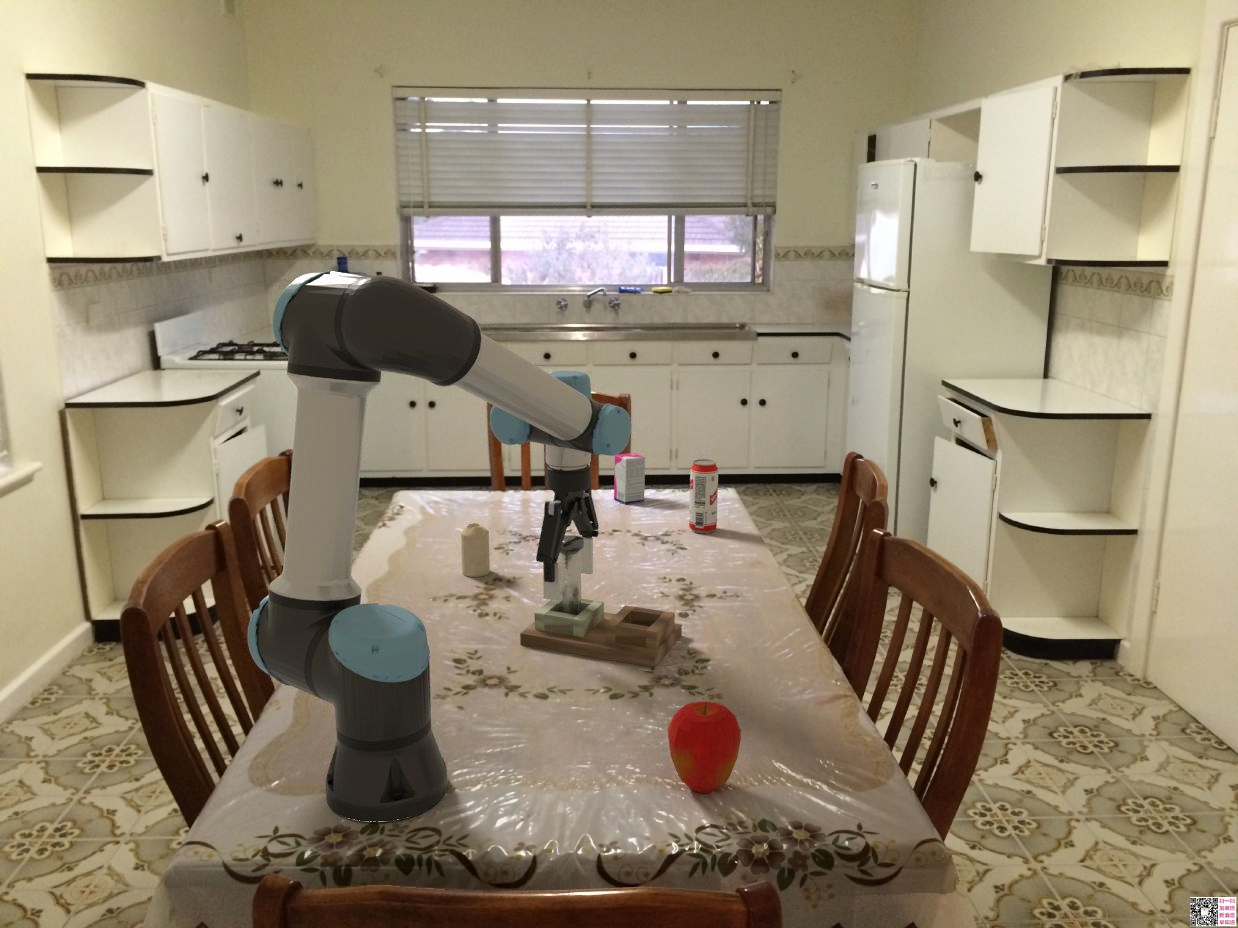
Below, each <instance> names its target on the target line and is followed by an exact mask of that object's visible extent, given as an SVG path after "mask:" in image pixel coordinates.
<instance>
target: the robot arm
mask: <svg viewBox="0 0 1238 928" xmlns="http://www.w3.org/2000/svg"><path fill="white" fill-rule="evenodd" d="M272 313H273V314H272V330H273V331H272V332H273V335H274V337H275V341H276V342H278V343H279V347H280V348H281V350H282V351H283V352H284V353H285V354H286V355H287V367H286V368H287V369H286V376H287V377H288V378H289V379H290V381H291V382H293V384H294V385H295V387H296V388H297V397H296V399H297V400H296V413H295V423H294V435H293V436H294V437H293V448H292V459H291V471H290V472H291V473H290V482H289V483H290V485H289V495H288V509H287V520H286V530H285V531H286V532H285V541H284V542H285V545H284V555H283V556H284V557H283V567H282V572H281V574H280V575H278V576H277V577H276V578H275V579H274V580H272V581H271V582H270V584H269V588H268V589H269V591H268V595H267V596H265V597H264V598H263V599H261V601H260V602H259V607H258V608H257V609H254V610H253V613H252V614H251V617H250V620H249V622H248V627H247V645H248V649H249V653H250V655H251V658H252V659H253V661H254V663H255V665H256V666H257V667H258V668H259V669H260V670H261V671H263V672H264V673H265V674H267V675H268V676H270V677H271V678H273V679H275V681H277V682H279V683H281V684H283V685H285V686H291V687H293V688H295V689H297V690H299V691H301V692H304V693H307V694H309V695H311V696H313V697H316V698H318V699H320V700H323V701H325V702H328V703H329V704H331V705H333V707H334V714H335V715H334V716H335V726H336V727H335V728H336V729H335V730H336V742H335V745H334V748H333V753H332V755H331V760H330V762H329V767H328V770H327V773H326V778H325V797H326V799H325V800H326V803H327V805H328V807H329V808H330V810H332V811H333V812H334V813H335V814H336V813H337V815H338V814H339V815H338V816H340V815H341V816H340V817H342V816H343V817H342V818H344V817H346V818H345V819H347V818H350V819H355V820H358V821H359V820H360V821H369V822H370V821H372V822H373V821H376V822H378V821H393V820H397V819H403V818H406V819H408V818H407V817H410V818H412V817H415V816H418V815H421V814H423V813H424V812H426V811H428V810H429V809H432V808H433V807H434V806H436V805H437V804H438V803H439V802H440V801H441V800H442V799H443V798H444V796H445V795H446V792H447V790H448V785H449V783H448V781H449V780H448V768H447V764H446V762H445V760H444V758H443V756H442V753H441V750H440V747H439V745H438V742H437V740H436V737H435V735H434V733H433V729H432V716H431V715H432V709H431V708H432V705H431V703H432V701H431V673H430V672H431V668H430V667H431V666H430V659H431V656H430V654H431V652H430V646H429V643H428V637H427V629H426V626H425V624H424V623H423V621H422V620H421V619H420V617H418V615H416V614H415V613H414V612H412V611H410V610H408V609H406V608H405V607H402V606H399V605H394V604H389V603H385V604H383V605H380V604H379V603H378V602H377V603H376V602H373V603H372V602H371V603H370V602H369V603H361V600H362V587H361V586H360V584H358V583H357V581H356V580H355V579H354V578H353V577H352V568H353V557H354V545H355V536H356V524H357V512H358V500H359V490H360V480H361V479H360V478H361V477H360V476H361V466H362V455H363V443H364V435H365V424H366V423H365V422H366V411H367V410H366V409H367V399H368V396H369V395H370V393H371V392H372V391H373V390H375V389H377V387H379V386H380V384H381V378H382V372H386V373H393V374H399V375H404V376H411V377H415V378H419V379H423V380H426V381H427V382H430V383H432V384H434V385H435V386H438V387H443V388H445V387H452V386H455V387H457V388H459V389H461V390H463V391H465V392H467V393H469V394H470V395H473V396H474V397H477V399H481V400H483V401H484V402H486V403H489V404H490V405H492V407H491V409H490V413H489V421H490V422H489V426H490V429H491V432H492V434H493V435H494V437H495V438H496V439H497V440H498V441H499V443H502V444H504V445H505V446H506V445H507V446H513V445H520V446H521V445H523V444H525V443H537V444H541V445H545V463H546V464H547V465H546V467H545V486H546V487H547V489H549V490H550V491H552V492H553V493H554V495H553V501H547V500H546V501H545V502H544V506H543V507H544V510H543V511H544V513H543V520H542V524H541V525H542V526H541V530H540V536H539V542H538V546H537V551H536V556H535V561H536V562H538V563H542V564H543V565H542V567H543V569H542V571H543V576H542V577H543V584H542V585H543V599H546V600H558V601H559V600H560V562H559V561H557V560H558V557H559V553H560V550H561V547H562V543H563V540H564V536H565V535H566V534H567V528H569V527H570V526H571V525H572V521H573V524H574V526H575V527H576V530H577V532H578V534H579V535H580V536H579V535H578V536H579V537H582V538H583V539H584V548H583V549H581V574H585V575H586V574H587V575H593V573H594V538H598V537H599V534H600V532H599V528H600V527H599V525H600V524H599V521H598V518H597V514H596V513H597V512H596V509H595V504H594V501H593V500H594V499H593V495H592V467H591V466H590V465H589V464H590V463H591V461H592V459H591V457H592V454H594V455H596V456H601V455H602V456H609V457H610V456H611V457H615V455H619V454H621V453H622V452H623V451H624V450H625V449H626V448H627V446H628V443H629V441H630V437H631V435H632V421H631V417H630V414H629V413H628V411H627V410H626V409H625V408H623V407H621V406H618V405H614V404H612V403H609V402H607V403H602V402H598V401H596V400H595V399H593V396H592V387H591V378H590V376H589V375H588V374H587V373H586V372H583V371H576V370H556V371H551V372H547V371H545V370H544V369H542V368H540V367H539V366H537V365H535V364H534V363H532V362H530V361H529V360H527V359H525V358H523V357H522V356H521V355H518V354H517V353H515V352H514V351H512V350H510V349H509V348H507V347H505V346H504V345H502V344H501V343H499V342H497V341H495V340H493V339H492V338H490V337H489V336H487V335H486V334H483V332H482V328H481V325H480V324H479V323H478V322H477V320H476V319H474V318H472V317H471V316H470V315H468V314H466V313H465V312H463V311H462V310H459V309H458V308H456V307H455V306H453V305H452V304H450V303H448V302H447V301H445V300H444V299H441V298H440V297H439V296H436V295H435V294H433V293H431V292H429V291H427V290H426V289H424V288H423V287H420V286H419V285H416V284H413V283H411V282H408V281H407V280H404V279H403V278H402V279H401V278H398V277H396V276H389V275H372V274H371V275H370V274H369V275H368V274H361V273H360V274H359V273H351V272H340V271H336V270H335V271H329V270H327V271H324V272H322V271H321V272H311V273H306V274H303V275H301V276H299V277H296V278H295V279H294V280H293V281H292V282H291V283H290V284H288V285H287V286H285V288H284V289H283V291H282V292H281V293H280V295H279V297H278V299H277V301H276V303H275V306H274V309H273V312H272ZM411 816H412V817H411ZM350 819H349V820H350ZM403 820H404V819H403ZM358 821H357V822H358ZM393 822H394V821H393Z"/></svg>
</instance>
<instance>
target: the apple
mask: <svg viewBox="0 0 1238 928" xmlns="http://www.w3.org/2000/svg"><path fill="white" fill-rule="evenodd" d="M667 736H668V744H669V745H668V747H669V751H670V752H669V753H670V758H671V760H672V761H671V762H672V763H673V766H674V768H675V772H676V774H677V776H678V778H679V779H680V780H681V782H683V783H684V784H685V785H686V786H687V787H688V788H689V789H690V790H693V791H694V792H697V793H701V794H702V793H703V794H708V793H712V792H714V791H716V790H718V789H719V788H720V787H722V786H723V785H725V783H727V782H728V780H729V779H730V777H731V775H732V772H733V769H734V767H735V766H736V765H735V764H736V762H737V759H738V757H739V751H740V747H741V746H740V745H741V740H742V733H741V728H740V726H739V722H738V719H737V717H736V715H735V714H734V713H733V712H732V711H731V710H730V709H729V708H728V707H726V706H725V705H724V704H720V703H718V702H713V701H707V700H705V701H693V702H690V703H687V704H684V705H683V706H682V707H681V708H679V710H677V711H676V713H675V714H674V715H673V717H672V719H671V721H670V723H669V726H668V728H667Z"/></svg>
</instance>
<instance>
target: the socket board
mask: <svg viewBox="0 0 1238 928" xmlns="http://www.w3.org/2000/svg"><path fill="white" fill-rule="evenodd" d="M675 614H676V613H675V612H670V611H665V610H657V609H652V608H645V607H639V606H632V605H624V606H623V607H622V608H621V609H620V610H618V612H617V613H610V612H606V611H605V602H604V601H600V600H599V601H598V600H592V599H586V598H581V613H580V614H578V615H573V614H567V613H561V612H558V600H551V599H549V601H547V602H546V603H545V604H544V605H543V606H541V607H540V608H539V609H537V610H536V611H535V612H534V621H533V622H532V623H531V624H530V625H529V626H528V627H526V628H525V629H523V630H522V631H521V632H520V634H519V636H520V637H519V639H520V640H519V641H520V645H523V646H529V647H534V648H540V649H545V650H552V651H557V652H561V653H566V654H567V653H568V654H573V655H580V656H584V657H585V656H586V657H592V658H598V659H602V660H610V661H614V662H620V663H625V664H631V665H636V666H637V665H638V666H644V667H648V668H655V667H656V666H657V665H658V663H659V662H660V661H661V660H662V659H663V657H664V656H665V655H666V654H667V653H668V652H669V651H670V649H672V647H673V646H674V645H675V644H676V642H677V641H678V640H679V639H680V637H682V636H683V627H682V626H683V624H681V623H676V622H675V617H676V615H675Z"/></svg>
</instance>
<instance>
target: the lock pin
mask: <svg viewBox="0 0 1238 928" xmlns="http://www.w3.org/2000/svg"><path fill="white" fill-rule="evenodd" d="M583 548H584V539H583V538H582V536H581V537H579V535H573V534H570V535H568V534H565V536H564V540H563V543H562V547H561V550H560V553H559V557H558V560H557V561H559V562H560V600H559V601H558V612H561V613H567V614H573V615H578V614H580V613H581V599H582V573H581V549H583Z"/></svg>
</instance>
